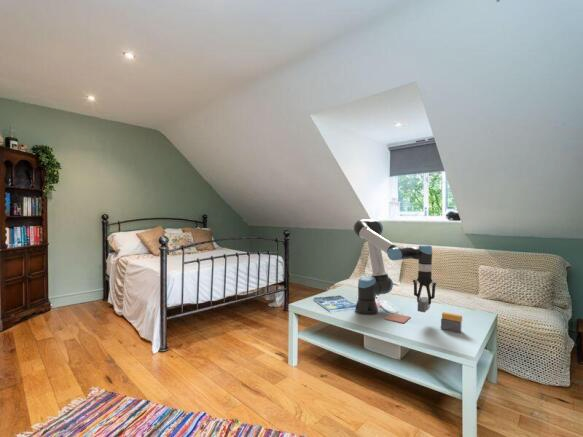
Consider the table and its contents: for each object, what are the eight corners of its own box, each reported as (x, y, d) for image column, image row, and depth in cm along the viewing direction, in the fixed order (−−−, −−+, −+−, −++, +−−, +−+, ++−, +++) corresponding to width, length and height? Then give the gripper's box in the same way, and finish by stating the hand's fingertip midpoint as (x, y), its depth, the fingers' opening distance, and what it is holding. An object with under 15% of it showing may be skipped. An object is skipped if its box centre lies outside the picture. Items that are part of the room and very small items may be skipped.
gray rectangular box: (441, 329, 180) (441, 318, 180) (442, 327, 183) (442, 317, 183) (460, 333, 174) (460, 322, 174) (461, 331, 177) (461, 320, 177)
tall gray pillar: (417, 311, 184) (417, 301, 184) (422, 306, 194) (423, 296, 194) (424, 312, 182) (424, 302, 182) (429, 307, 191) (430, 298, 191)
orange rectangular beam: (442, 318, 180) (442, 313, 180) (443, 317, 182) (443, 312, 182) (461, 322, 174) (461, 316, 174) (462, 320, 176) (462, 315, 176)
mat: (384, 319, 196) (384, 318, 196) (392, 313, 207) (392, 312, 207) (403, 323, 188) (403, 322, 188) (410, 317, 199) (410, 316, 199)
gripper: (408, 269, 190) (407, 307, 190) (438, 273, 179) (437, 313, 180) (412, 267, 195) (411, 304, 196) (441, 271, 185) (440, 310, 186)
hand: (423, 308), depth 188 cm, fingers closed on tall gray pillar, 4 cm apart
